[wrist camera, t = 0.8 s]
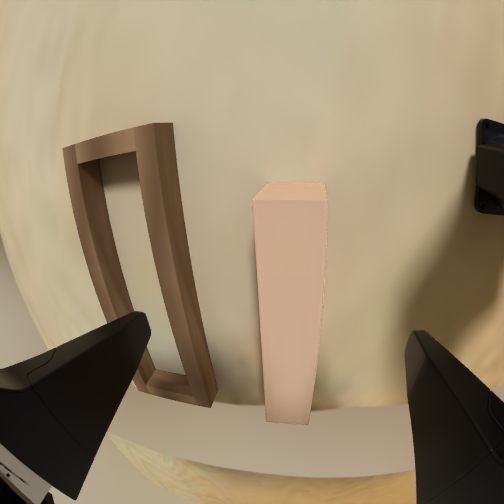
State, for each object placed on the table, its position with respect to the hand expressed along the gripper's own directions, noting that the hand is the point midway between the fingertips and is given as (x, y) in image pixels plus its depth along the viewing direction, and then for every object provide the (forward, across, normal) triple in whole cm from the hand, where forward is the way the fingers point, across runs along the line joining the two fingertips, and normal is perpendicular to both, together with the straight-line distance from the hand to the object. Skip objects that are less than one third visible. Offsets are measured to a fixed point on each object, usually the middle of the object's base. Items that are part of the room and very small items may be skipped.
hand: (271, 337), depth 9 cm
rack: (+11, +12, +5) cm, 17 cm away
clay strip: (+11, 0, +6) cm, 13 cm away
